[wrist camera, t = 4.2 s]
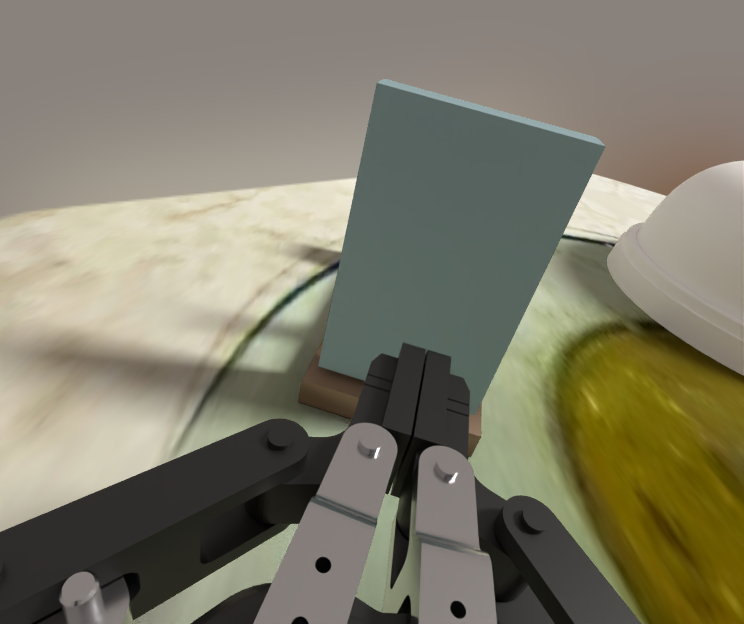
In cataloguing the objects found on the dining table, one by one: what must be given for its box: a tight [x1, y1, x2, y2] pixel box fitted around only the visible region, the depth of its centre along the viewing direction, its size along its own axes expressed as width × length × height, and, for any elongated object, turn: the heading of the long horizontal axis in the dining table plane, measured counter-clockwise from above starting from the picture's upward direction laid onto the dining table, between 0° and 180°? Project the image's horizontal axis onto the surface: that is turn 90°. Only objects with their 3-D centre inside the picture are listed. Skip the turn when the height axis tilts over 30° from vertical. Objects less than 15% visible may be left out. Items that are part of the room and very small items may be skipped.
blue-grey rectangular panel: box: [318, 79, 605, 415], centre depth 21 cm, size 4×8×13 cm, turn 78°
